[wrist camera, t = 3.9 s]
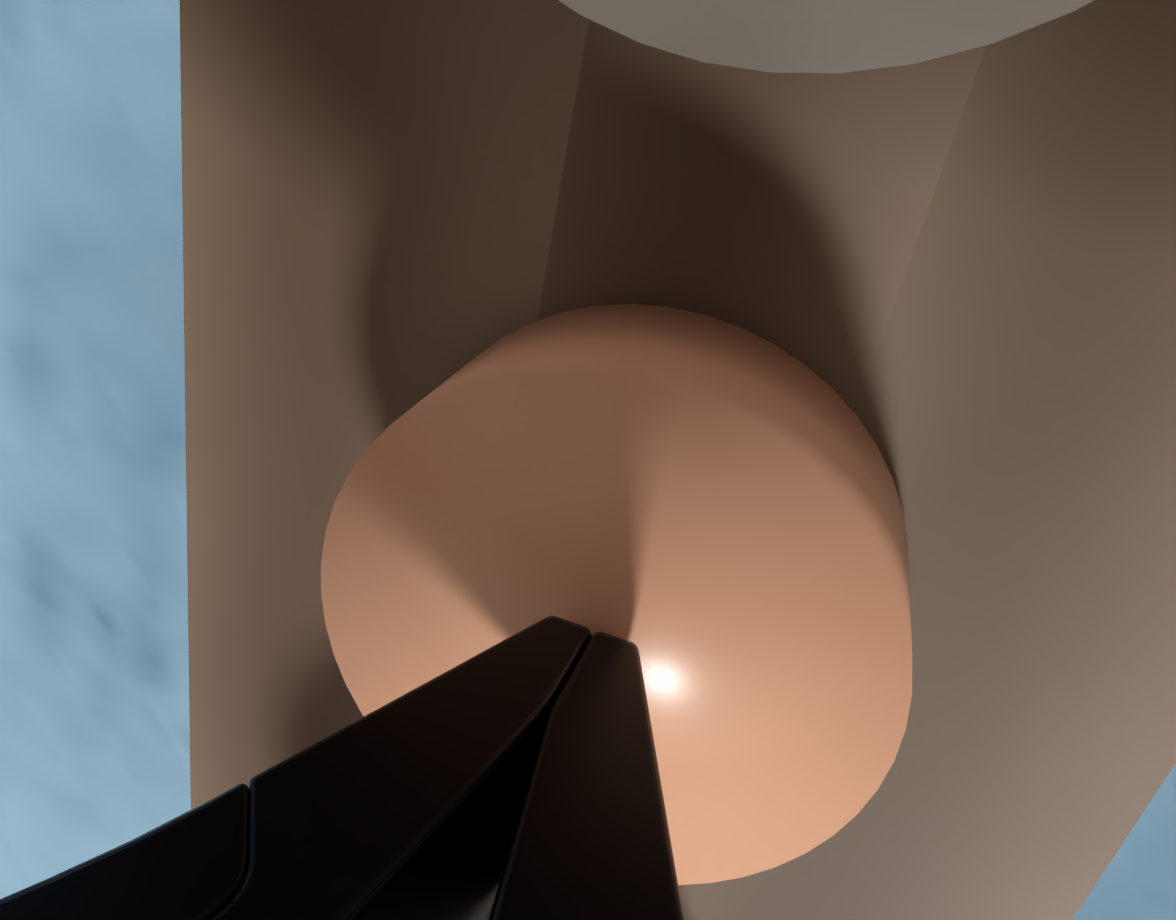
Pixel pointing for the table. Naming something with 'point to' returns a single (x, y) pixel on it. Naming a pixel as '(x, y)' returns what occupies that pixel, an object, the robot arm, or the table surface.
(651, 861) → the robot arm
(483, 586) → the terracotta button
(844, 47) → the cream button
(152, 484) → the table surface
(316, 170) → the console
